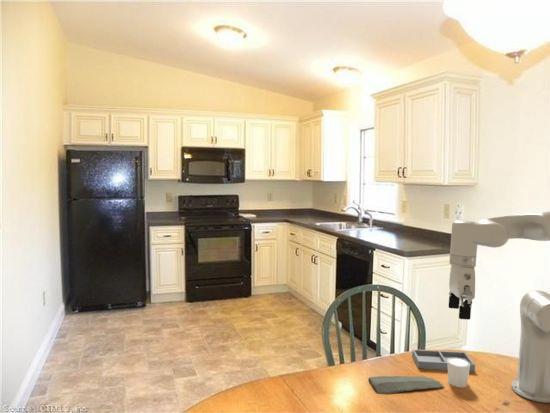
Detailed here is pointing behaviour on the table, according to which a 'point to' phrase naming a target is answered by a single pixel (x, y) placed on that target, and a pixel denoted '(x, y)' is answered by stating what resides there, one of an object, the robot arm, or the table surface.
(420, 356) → the tray
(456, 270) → the robot arm
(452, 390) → the table surface
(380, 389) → the stone slab
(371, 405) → the table surface
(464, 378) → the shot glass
